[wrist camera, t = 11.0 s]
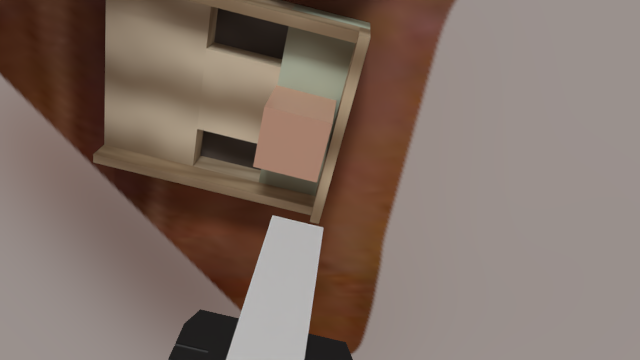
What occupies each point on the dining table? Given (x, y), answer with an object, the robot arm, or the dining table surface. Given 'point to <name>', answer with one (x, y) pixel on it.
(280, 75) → the tray
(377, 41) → the dining table surface
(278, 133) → the terracotta block
